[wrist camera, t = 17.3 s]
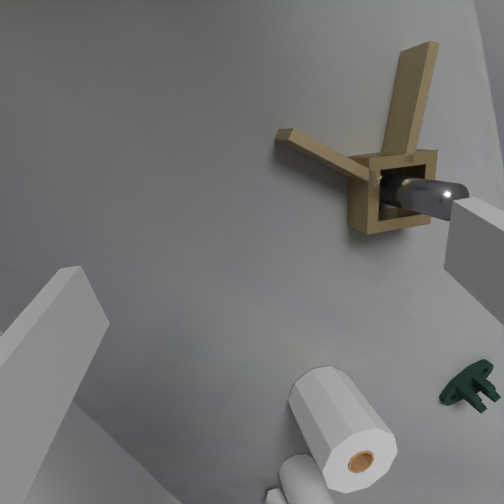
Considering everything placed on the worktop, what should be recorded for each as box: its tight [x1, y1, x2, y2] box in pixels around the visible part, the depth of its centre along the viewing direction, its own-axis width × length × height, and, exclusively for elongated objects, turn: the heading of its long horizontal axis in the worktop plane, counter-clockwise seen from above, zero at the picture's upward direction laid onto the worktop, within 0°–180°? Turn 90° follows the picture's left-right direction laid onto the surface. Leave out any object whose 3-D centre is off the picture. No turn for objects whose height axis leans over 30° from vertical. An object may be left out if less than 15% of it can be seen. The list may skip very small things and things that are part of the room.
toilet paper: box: [288, 366, 398, 493], centre depth 46 cm, size 10×10×12 cm
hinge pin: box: [379, 173, 469, 221], centre depth 37 cm, size 4×4×12 cm
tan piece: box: [275, 41, 439, 235], centre depth 38 cm, size 20×18×4 cm
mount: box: [439, 359, 501, 413], centre depth 57 cm, size 11×4×5 cm, turn 128°
